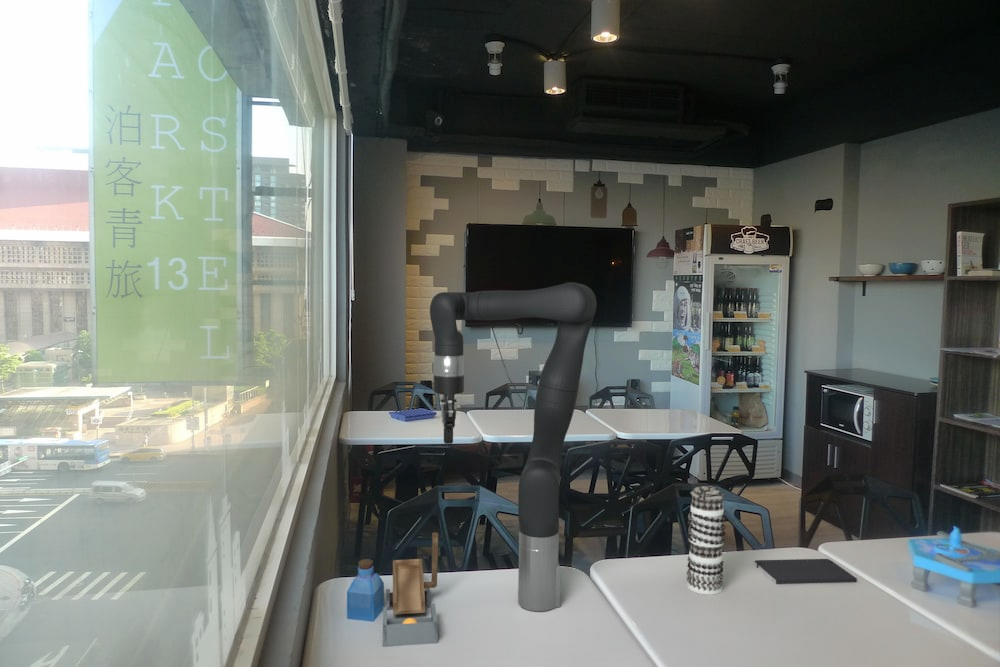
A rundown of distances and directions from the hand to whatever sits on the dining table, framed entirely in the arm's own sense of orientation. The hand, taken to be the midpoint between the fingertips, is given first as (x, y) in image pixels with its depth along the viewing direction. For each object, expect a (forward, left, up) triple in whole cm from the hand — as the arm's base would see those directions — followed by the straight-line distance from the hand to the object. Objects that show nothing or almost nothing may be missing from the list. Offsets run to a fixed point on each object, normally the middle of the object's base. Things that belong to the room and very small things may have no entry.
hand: (448, 442), depth 170 cm
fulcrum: (+10, +12, -35) cm, 38 cm away
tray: (+10, +25, -35) cm, 44 cm away
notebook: (-93, +7, -36) cm, 100 cm away
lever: (+8, +11, -32) cm, 35 cm away
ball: (+10, +27, -33) cm, 44 cm away
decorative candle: (-63, +12, -35) cm, 73 cm away
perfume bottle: (+20, +15, -35) cm, 43 cm away
